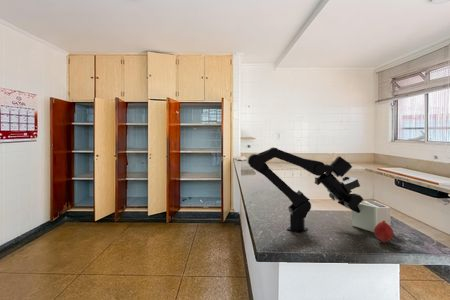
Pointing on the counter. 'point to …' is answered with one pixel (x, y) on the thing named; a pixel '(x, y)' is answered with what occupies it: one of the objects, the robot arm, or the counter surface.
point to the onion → (383, 231)
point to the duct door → (365, 217)
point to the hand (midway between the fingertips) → (358, 211)
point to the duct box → (380, 211)
